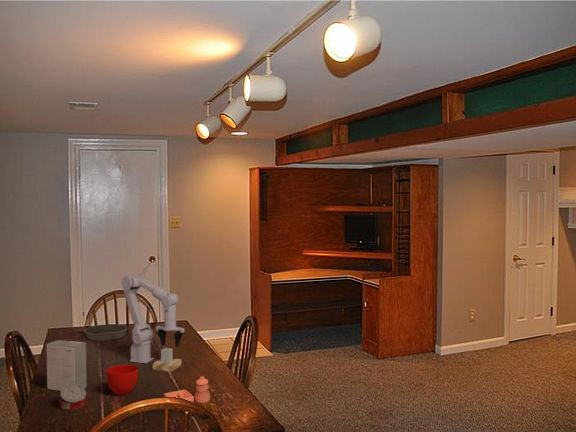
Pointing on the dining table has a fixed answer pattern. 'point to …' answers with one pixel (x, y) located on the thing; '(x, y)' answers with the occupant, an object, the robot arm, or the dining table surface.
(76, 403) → the canned food
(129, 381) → the ceramic cup
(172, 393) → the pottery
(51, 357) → the hard drive box
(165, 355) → the gray block
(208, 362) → the dining table surface
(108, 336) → the cake pan
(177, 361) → the maple pedestal
